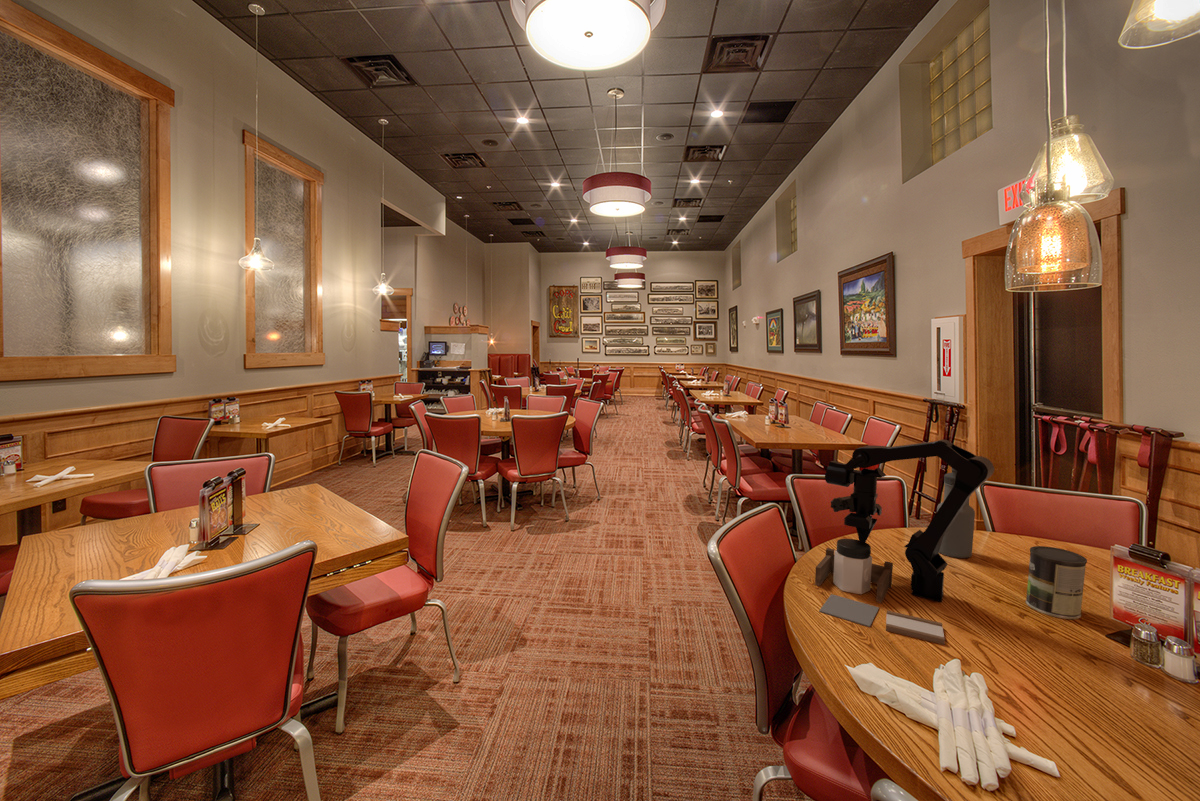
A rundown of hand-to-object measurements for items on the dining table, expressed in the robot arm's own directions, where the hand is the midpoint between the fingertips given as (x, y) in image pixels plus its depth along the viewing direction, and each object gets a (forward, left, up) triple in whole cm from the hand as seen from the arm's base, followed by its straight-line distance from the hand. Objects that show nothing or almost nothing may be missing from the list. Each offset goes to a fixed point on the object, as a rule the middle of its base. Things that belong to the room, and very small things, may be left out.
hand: (862, 543), depth 142 cm
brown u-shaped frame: (0, +10, -9) cm, 13 cm away
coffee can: (-41, -8, -9) cm, 43 cm away
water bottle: (-19, -36, -9) cm, 42 cm away
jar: (0, +11, -9) cm, 14 cm away
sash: (-16, +25, -9) cm, 31 cm away
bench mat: (-2, +25, -9) cm, 27 cm away
